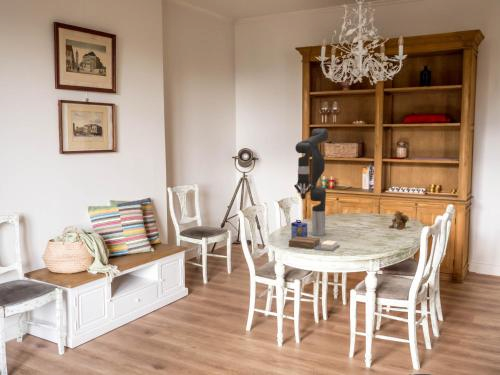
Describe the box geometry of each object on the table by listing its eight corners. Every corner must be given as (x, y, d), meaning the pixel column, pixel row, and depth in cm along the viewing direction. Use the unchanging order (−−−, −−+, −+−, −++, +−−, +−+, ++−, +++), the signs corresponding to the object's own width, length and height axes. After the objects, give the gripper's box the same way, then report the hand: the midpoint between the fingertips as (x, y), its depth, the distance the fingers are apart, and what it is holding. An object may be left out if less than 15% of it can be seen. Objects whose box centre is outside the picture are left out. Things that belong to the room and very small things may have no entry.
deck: (296, 242, 329) (296, 236, 329) (319, 244, 322) (319, 238, 322) (288, 246, 317) (288, 240, 317) (312, 249, 310) (312, 242, 309)
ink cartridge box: (290, 240, 335) (290, 219, 333) (295, 238, 339) (295, 218, 337) (303, 242, 329) (303, 220, 327) (307, 240, 333) (307, 219, 331)
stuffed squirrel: (387, 228, 373) (388, 210, 371) (399, 225, 381) (400, 209, 379) (398, 230, 364) (399, 212, 363) (410, 227, 372) (411, 210, 371)
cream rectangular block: (336, 241, 314) (336, 246, 315) (326, 240, 317) (326, 245, 318) (332, 244, 305) (331, 249, 306) (321, 243, 309) (321, 248, 309)
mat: (320, 244, 323) (320, 243, 323) (339, 246, 317) (339, 245, 317) (312, 249, 309) (312, 248, 309) (333, 251, 304) (333, 250, 304)
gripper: (315, 172, 324) (314, 198, 326) (296, 172, 330) (296, 197, 332) (311, 173, 318) (311, 200, 320) (292, 173, 323) (292, 199, 326)
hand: (303, 199), depth 326 cm, fingers closed
